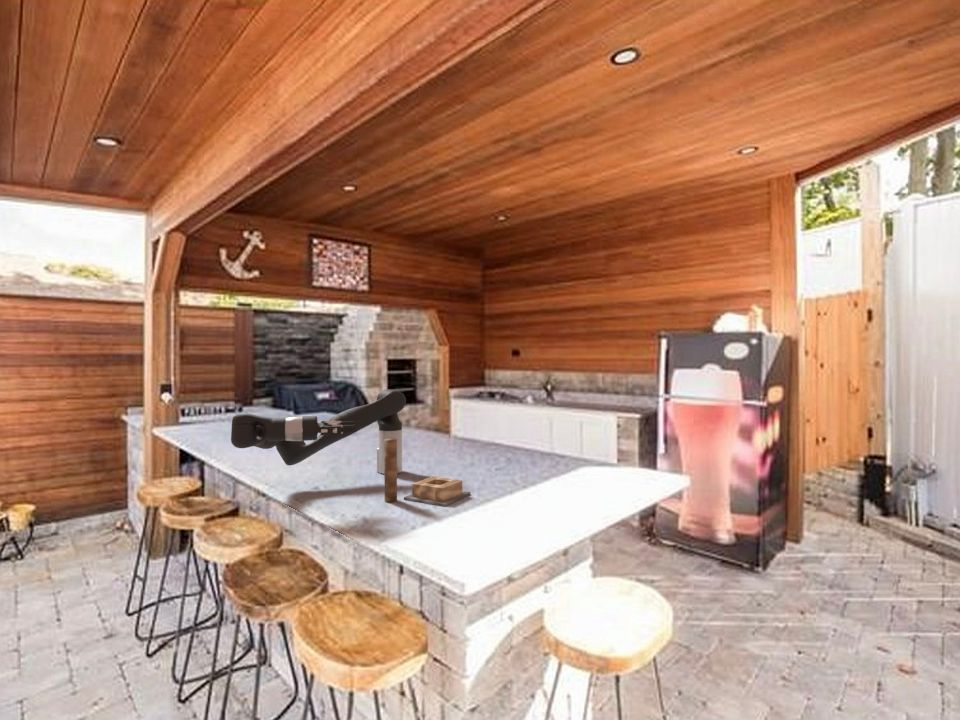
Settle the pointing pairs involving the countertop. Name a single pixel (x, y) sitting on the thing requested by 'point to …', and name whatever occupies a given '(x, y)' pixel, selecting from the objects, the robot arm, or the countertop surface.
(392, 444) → the peg
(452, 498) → the socket block
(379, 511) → the countertop surface
